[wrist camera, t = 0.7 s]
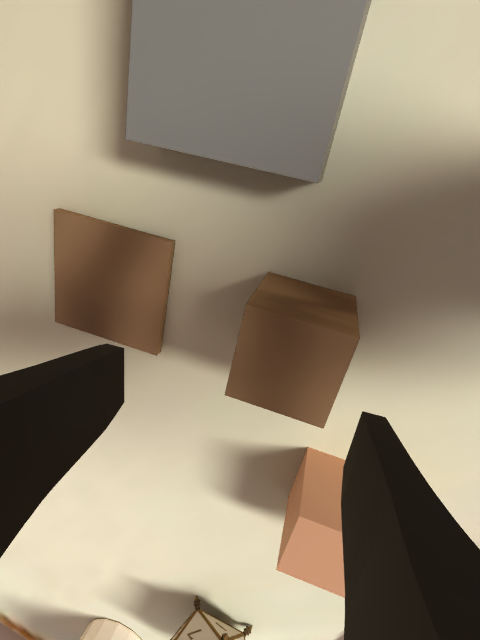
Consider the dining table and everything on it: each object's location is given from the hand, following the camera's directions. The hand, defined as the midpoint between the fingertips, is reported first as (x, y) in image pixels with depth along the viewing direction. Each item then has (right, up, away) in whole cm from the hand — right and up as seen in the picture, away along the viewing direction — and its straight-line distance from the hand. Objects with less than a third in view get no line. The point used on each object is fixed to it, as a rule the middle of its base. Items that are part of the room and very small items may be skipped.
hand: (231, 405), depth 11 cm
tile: (-7, +5, +11) cm, 14 cm away
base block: (+1, +14, +5) cm, 15 cm away
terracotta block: (+6, -8, +12) cm, 16 cm away
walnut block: (+3, +2, +9) cm, 10 cm away
